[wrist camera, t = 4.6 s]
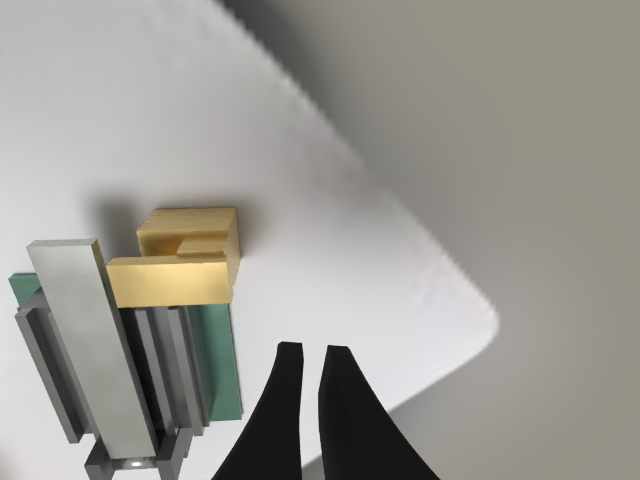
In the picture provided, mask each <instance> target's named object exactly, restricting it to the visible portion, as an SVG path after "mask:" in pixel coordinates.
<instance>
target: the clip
mask: <svg viewBox="0 0 640 480" xmlns="http://www.w3.org/2000/svg"><path fill="white" fill-rule="evenodd" d="M136 232H137V236H138V241H139V245H140V249H141V254H142V257H119V258H112V260H111V261H110V262H109V263H108V264H107V265H106V269H107V272H108V276H109V279H110V283H111V286H112V290H113V293H114V297H115V300H116V304H117V308H122V307H148V306H174V305H199V304H225V303H231V302H232V298H233V286H232V285H235V281H236V277H237V273H238V269H239V265H240V261H241V255H240V246H239V236H238V226H237V217H236V207H233V208H192V209H155V210H154V211H153V212H152V213H151V215H150V216H149V217H148V218H147V219H146V220H145V222H144V223H143V224H142V225H141V226H140V227H139V228H138V230H137V231H136Z"/></svg>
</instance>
